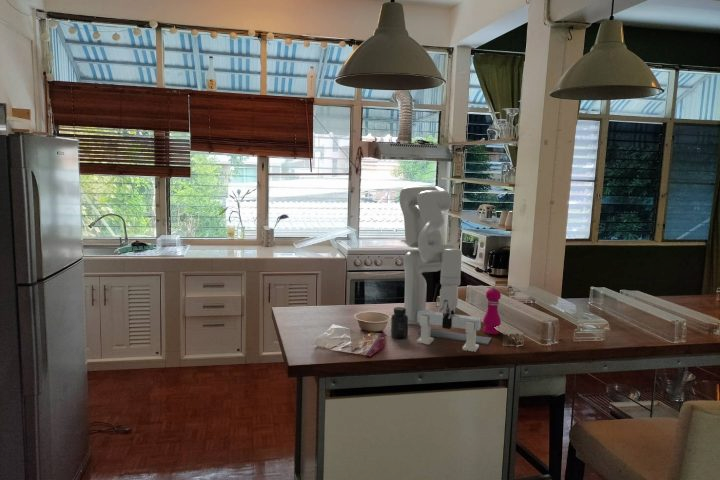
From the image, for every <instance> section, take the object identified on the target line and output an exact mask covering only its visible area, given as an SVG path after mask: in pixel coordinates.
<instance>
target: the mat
mask: <svg viewBox="0 0 720 480" xmlns="http://www.w3.org/2000/svg"><path fill="white" fill-rule="evenodd" d="M466 334H467V333H461V332H453V331H448V330H439V329H435V328H431V332H430V337H432V338H437V339H439V338H440V339H445V340H452V341H457V342H464V343H466ZM418 336H421V331H420V332H419V333H418ZM492 339H493V338H492V337H489V336H480V335H476V344H478V345H485V346H488V345H489V344H490V342H491V340H492Z"/></svg>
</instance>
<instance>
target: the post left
mask: <svg viewBox="0 0 720 480" xmlns="http://www.w3.org/2000/svg"><path fill="white" fill-rule="evenodd" d="M419 326H420V332H421V335H420V337H419V338H418V339H417V340H416V343H417V344H422V343H423V344H424V345H430V344H432V343H433V342H434V340H435V337H431V336H430V332H431V329H432V324H428V316H420V325H419Z"/></svg>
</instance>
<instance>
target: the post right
mask: <svg viewBox="0 0 720 480" xmlns="http://www.w3.org/2000/svg"><path fill="white" fill-rule="evenodd" d="M465 334H466V342H464V345H463V346H461V347H462V349H461V350H462V351H467V350H468V352H473V351H474V352H475V353H476V352H477V351H478V349H479V348H480V344H477V343H476V336H477V330H474V323H472V322H466V329H465Z"/></svg>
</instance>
